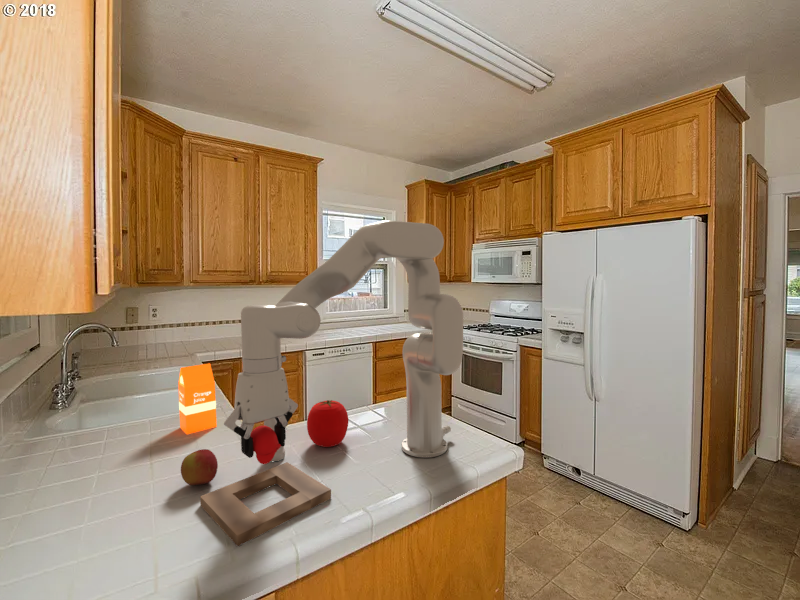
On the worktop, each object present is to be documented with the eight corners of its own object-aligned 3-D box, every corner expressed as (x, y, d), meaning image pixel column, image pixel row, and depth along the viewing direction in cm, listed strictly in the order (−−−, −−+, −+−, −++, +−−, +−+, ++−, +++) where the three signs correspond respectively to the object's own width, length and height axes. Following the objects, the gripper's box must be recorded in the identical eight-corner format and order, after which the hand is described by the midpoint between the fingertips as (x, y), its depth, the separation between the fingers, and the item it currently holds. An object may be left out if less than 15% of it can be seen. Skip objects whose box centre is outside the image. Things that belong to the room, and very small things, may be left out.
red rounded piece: (242, 436, 82) (240, 431, 77) (270, 423, 85) (268, 417, 80) (257, 471, 80) (255, 468, 75) (285, 456, 82) (285, 452, 77)
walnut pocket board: (287, 470, 94) (287, 462, 94) (331, 498, 82) (330, 489, 82) (200, 505, 80) (200, 496, 80) (237, 546, 67) (237, 535, 67)
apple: (222, 473, 93) (221, 441, 92) (213, 491, 85) (212, 456, 85) (188, 477, 91) (186, 444, 91) (175, 496, 83) (174, 460, 83)
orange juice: (179, 427, 122) (176, 365, 121) (209, 420, 128) (207, 361, 127) (186, 434, 116) (183, 369, 115) (217, 426, 122) (214, 365, 121)
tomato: (329, 456, 101) (328, 410, 100) (298, 447, 107) (296, 402, 106) (358, 439, 111) (357, 397, 111) (328, 431, 117) (327, 391, 117)
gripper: (290, 356, 88) (292, 432, 89) (211, 369, 75) (214, 458, 76) (308, 360, 83) (310, 442, 84) (226, 375, 70) (230, 471, 71)
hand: (264, 449), depth 80 cm, fingers closed on red rounded piece, 6 cm apart
